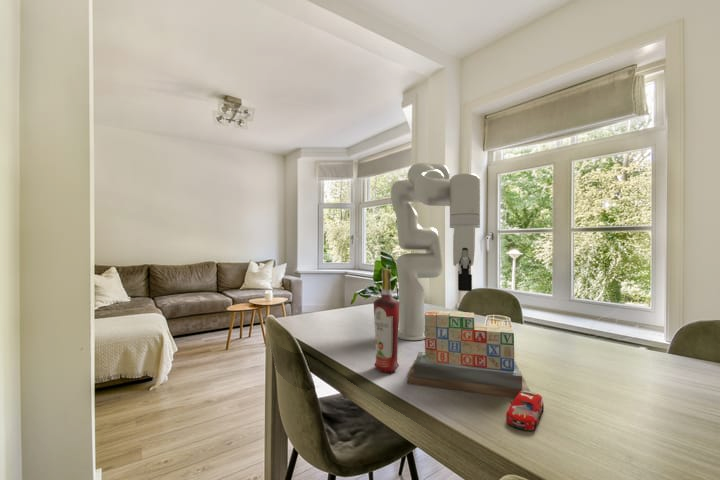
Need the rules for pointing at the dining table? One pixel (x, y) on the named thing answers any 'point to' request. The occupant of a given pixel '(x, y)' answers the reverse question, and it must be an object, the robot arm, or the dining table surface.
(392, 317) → the liquor
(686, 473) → the dining table surface
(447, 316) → the stack of blocks
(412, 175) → the robot arm
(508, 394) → the build plinth
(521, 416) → the race car
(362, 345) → the dining table surface
